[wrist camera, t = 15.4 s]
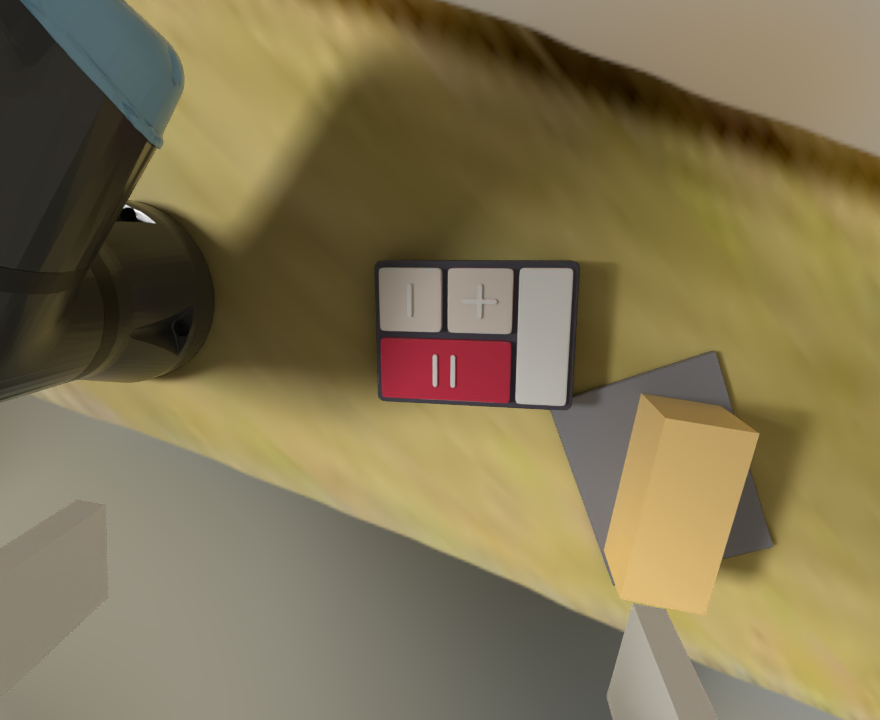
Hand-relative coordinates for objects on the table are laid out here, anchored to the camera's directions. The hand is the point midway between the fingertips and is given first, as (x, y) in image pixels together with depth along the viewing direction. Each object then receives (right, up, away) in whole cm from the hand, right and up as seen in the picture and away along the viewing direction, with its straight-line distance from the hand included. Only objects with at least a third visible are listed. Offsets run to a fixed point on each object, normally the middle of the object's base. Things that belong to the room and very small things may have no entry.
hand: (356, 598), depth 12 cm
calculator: (+5, +8, +28) cm, 30 cm away
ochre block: (+18, -11, +27) cm, 34 cm away
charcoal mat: (+20, -3, +28) cm, 35 cm away
